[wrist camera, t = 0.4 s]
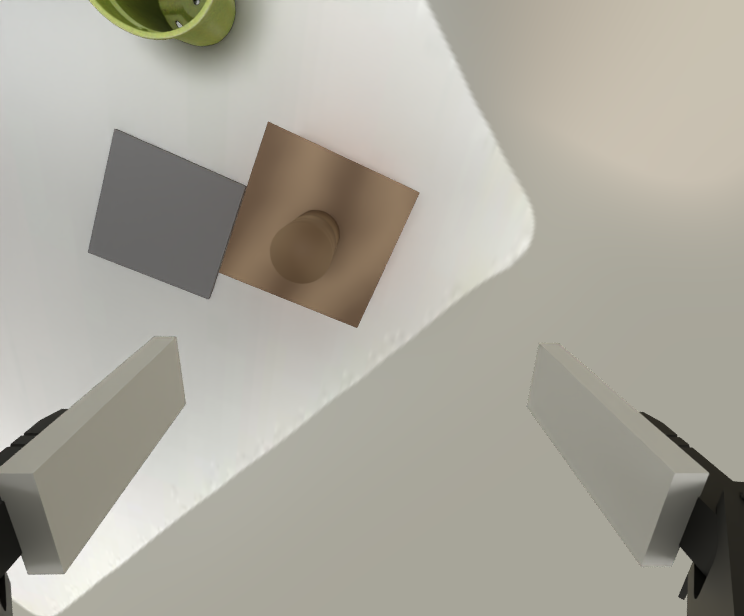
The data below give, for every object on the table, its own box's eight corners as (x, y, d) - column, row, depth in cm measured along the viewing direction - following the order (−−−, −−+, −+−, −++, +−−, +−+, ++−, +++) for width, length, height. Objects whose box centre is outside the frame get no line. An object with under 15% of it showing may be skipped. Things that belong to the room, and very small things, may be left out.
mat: (90, 251, 39) (87, 252, 38) (117, 129, 35) (114, 129, 35) (209, 298, 41) (208, 299, 40) (246, 186, 37) (245, 186, 37)
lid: (223, 269, 33) (173, 304, 24) (271, 123, 29) (232, 103, 21) (357, 323, 34) (354, 373, 26) (417, 191, 31) (438, 199, 22)
